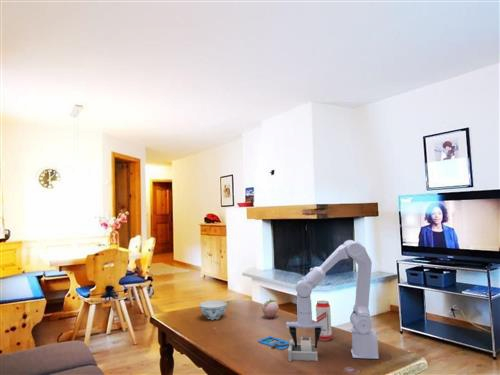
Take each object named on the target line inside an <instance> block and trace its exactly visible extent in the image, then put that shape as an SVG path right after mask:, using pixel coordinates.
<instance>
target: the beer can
mask: <svg viewBox="0 0 500 375" xmlns="http://www.w3.org/2000/svg"><path fill="white" fill-rule="evenodd" d="M315 313H316V314H315V315H316V322H320V323H324V329H321V334H320V336H319V339H318V340H320V341H325V342H327V341H330V340H331V339H332V337H333V335H332V334H333V333H332V332H333V331H332V315H331V314H332V313H331V305H330V303H329V301H328V300H317V301H316V305H315Z"/></svg>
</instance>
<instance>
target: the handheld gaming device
mask: <svg viewBox="0 0 500 375" xmlns="http://www.w3.org/2000/svg"><path fill="white" fill-rule="evenodd" d="M257 343H259V344H261V345H265V346H267V347H268V346H269V347H271V346H273V345H283V344H289V343H290V341H288V340H284V339H281V338H277V337H275V336H272V335H271V336H270V335H268V336H267V337H264V338H261V339H258V340H257ZM288 348H289V346H283V347H276V348H275V349H276V350H279V351H284V350H288Z"/></svg>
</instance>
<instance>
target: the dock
mask: <svg viewBox="0 0 500 375" xmlns="http://www.w3.org/2000/svg"><path fill="white" fill-rule="evenodd" d="M289 342H290V343H289V348H287V356H288V357H287V360H288V362H289V363H291V362H293V361H295V362H296V361H298V362H300V361H301V362H302V361H303V362H318V351H317V348H315V343H311V347H312V352H306V351H301V343H297V348H295V344H294V340H293V339H290V340H289Z"/></svg>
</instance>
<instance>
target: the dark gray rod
mask: <svg viewBox="0 0 500 375" xmlns="http://www.w3.org/2000/svg"><path fill="white" fill-rule="evenodd" d="M293 343H294V342H293ZM294 344H295V343H294ZM283 346H289V344H283V345H273V346H270V348H271V349H276V347H283Z"/></svg>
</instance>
